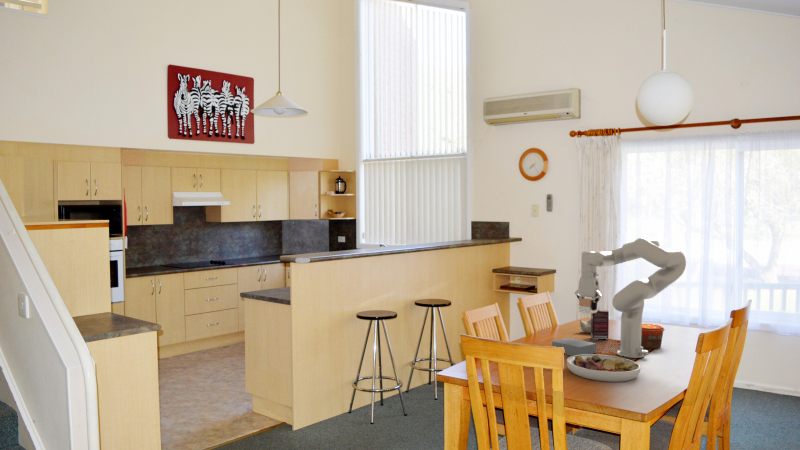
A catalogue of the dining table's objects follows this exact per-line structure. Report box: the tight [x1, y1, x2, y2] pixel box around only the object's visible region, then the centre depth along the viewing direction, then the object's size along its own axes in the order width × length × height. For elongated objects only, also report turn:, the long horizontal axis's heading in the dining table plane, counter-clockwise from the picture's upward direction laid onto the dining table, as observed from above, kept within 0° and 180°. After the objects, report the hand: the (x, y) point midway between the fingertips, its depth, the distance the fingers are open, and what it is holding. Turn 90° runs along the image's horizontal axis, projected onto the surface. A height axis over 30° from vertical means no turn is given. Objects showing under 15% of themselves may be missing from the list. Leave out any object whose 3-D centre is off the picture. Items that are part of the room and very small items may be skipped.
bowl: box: [566, 353, 641, 383], centre depth 251 cm, size 30×30×8 cm
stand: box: [551, 337, 597, 357], centre depth 288 cm, size 16×14×5 cm
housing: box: [578, 297, 598, 315], centre depth 302 cm, size 6×6×7 cm
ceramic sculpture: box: [579, 318, 591, 334], centre depth 336 cm, size 11×9×15 cm
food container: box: [641, 323, 665, 350], centre depth 305 cm, size 16×16×11 cm
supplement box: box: [590, 309, 610, 341], centre depth 321 cm, size 9×5×16 cm, turn 84°
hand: (588, 308), depth 302 cm, fingers closed on housing, 6 cm apart
